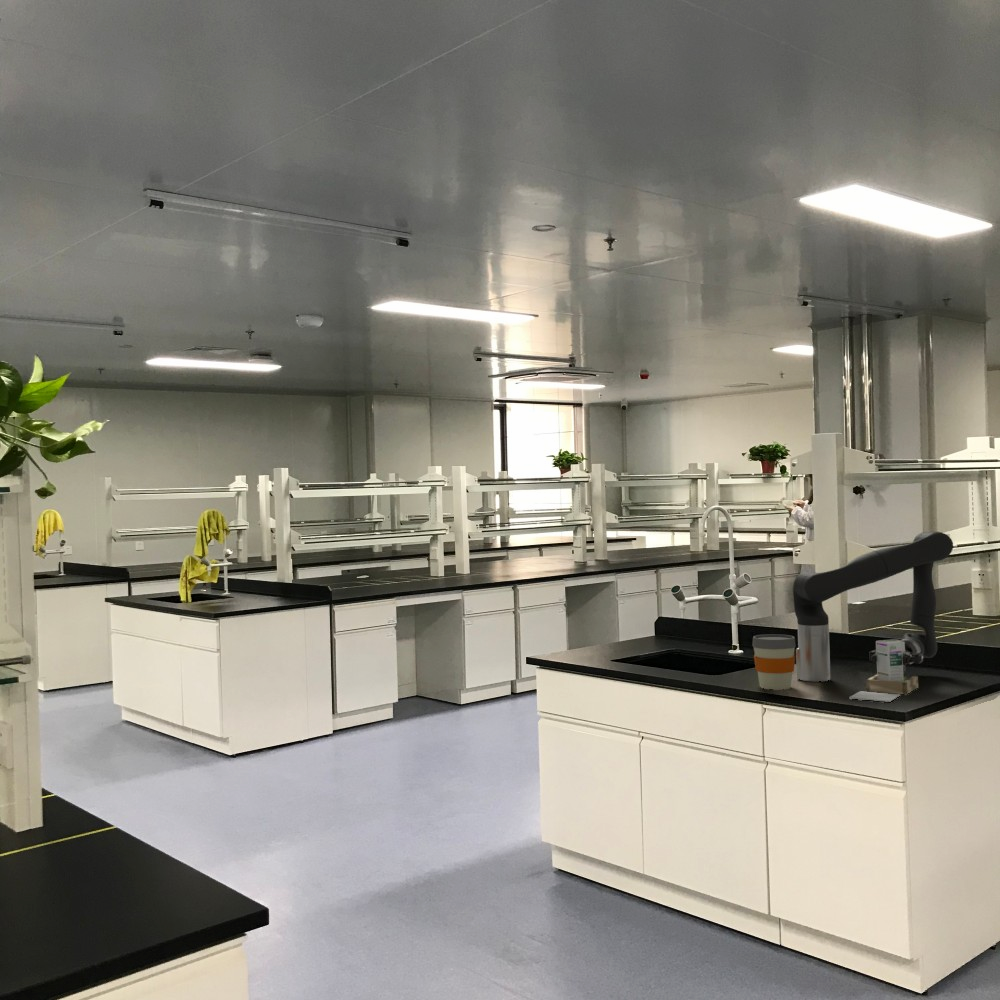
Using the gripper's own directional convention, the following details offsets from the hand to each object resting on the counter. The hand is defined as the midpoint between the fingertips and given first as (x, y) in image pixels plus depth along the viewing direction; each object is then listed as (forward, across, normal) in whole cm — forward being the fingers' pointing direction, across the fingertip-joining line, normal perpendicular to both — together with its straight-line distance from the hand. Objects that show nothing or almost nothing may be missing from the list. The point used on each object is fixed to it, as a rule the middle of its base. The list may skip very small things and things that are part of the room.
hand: (889, 660), depth 286 cm
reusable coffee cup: (+8, -31, +9) cm, 33 cm away
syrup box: (-2, 0, +9) cm, 9 cm away
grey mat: (+11, -1, +9) cm, 14 cm away
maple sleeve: (-2, 0, +9) cm, 9 cm away
